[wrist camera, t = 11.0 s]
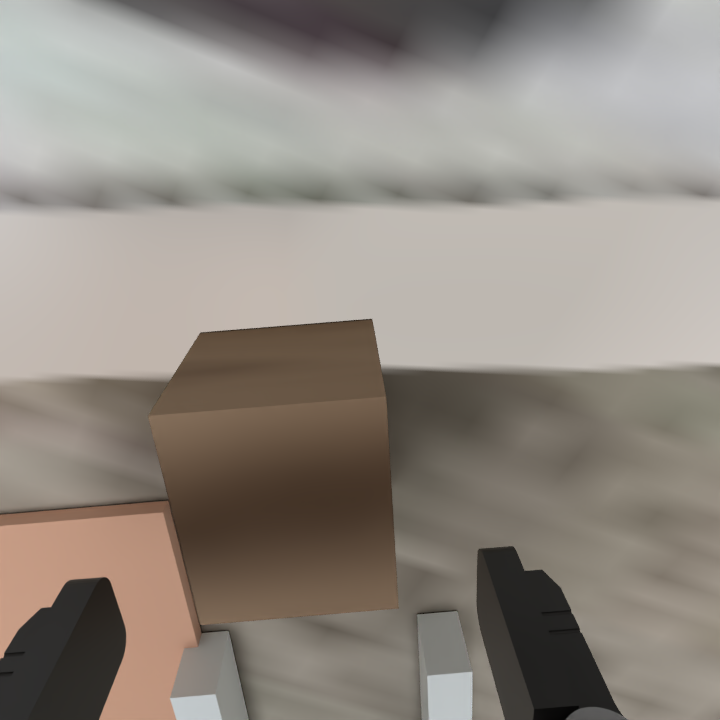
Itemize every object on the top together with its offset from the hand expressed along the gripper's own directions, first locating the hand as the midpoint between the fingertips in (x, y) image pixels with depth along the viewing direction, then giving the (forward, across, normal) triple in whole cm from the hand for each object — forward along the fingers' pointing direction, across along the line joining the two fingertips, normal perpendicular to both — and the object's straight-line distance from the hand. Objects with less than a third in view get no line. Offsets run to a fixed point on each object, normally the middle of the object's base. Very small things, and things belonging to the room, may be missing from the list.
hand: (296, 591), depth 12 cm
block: (+6, 0, -1) cm, 6 cm away
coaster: (+6, +10, +7) cm, 13 cm away
